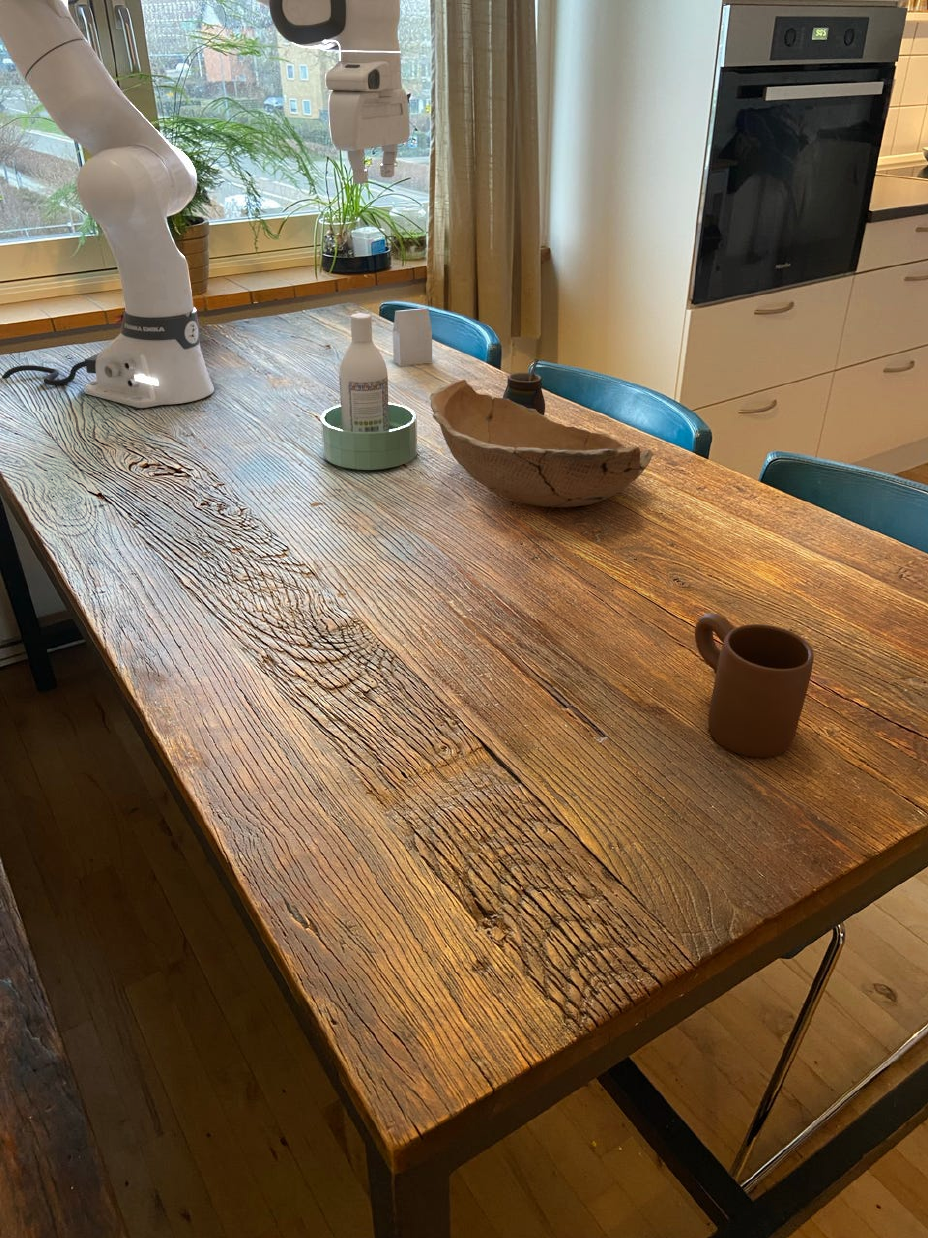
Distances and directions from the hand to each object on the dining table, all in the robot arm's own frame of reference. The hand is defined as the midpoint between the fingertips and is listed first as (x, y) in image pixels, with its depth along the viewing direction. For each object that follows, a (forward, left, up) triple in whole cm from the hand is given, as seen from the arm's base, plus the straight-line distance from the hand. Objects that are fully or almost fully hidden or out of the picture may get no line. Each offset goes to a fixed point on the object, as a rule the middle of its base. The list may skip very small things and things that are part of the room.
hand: (374, 179), depth 140 cm
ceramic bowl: (+36, -26, -35) cm, 57 cm away
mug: (+68, -69, -35) cm, 103 cm away
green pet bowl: (+9, -23, -35) cm, 43 cm away
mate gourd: (+26, -1, -35) cm, 44 cm away
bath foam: (+8, -23, -35) cm, 42 cm away
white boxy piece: (-5, +25, -35) cm, 44 cm away
